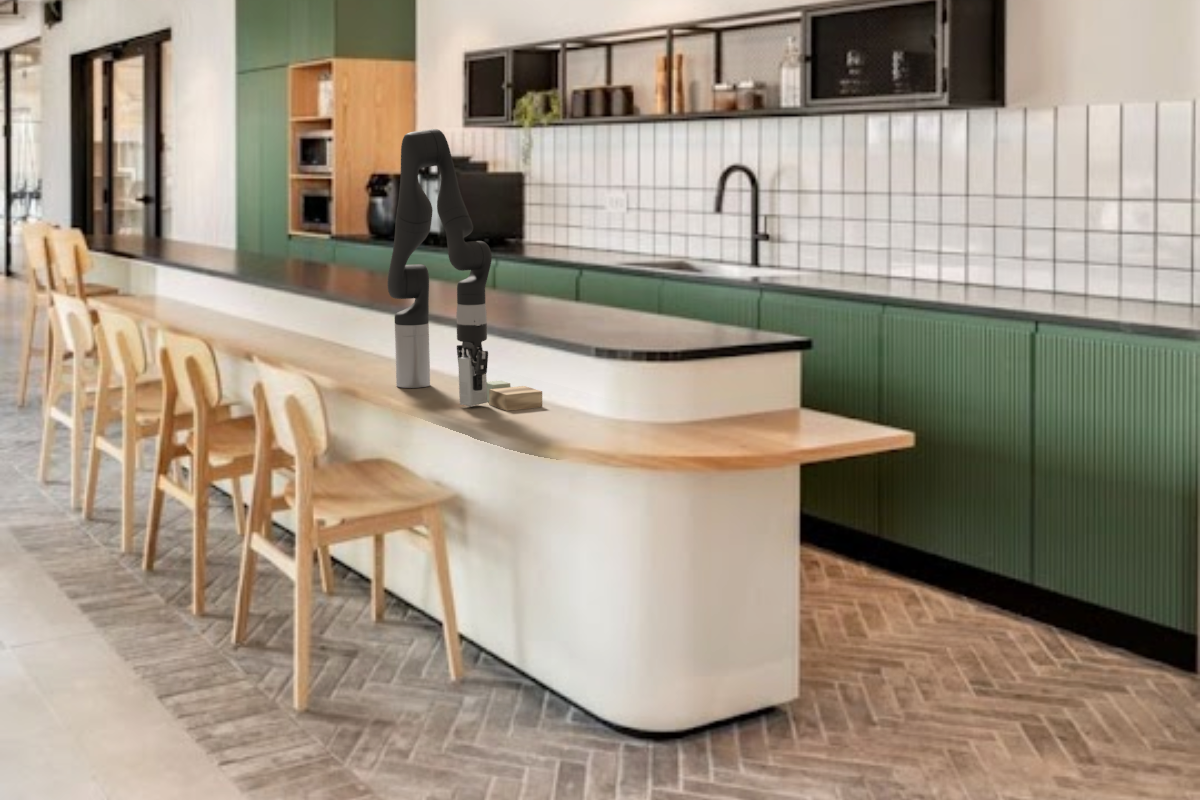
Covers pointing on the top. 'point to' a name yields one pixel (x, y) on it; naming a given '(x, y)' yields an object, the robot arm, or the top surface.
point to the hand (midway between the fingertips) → (472, 388)
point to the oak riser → (515, 398)
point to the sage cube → (496, 386)
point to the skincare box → (470, 384)
